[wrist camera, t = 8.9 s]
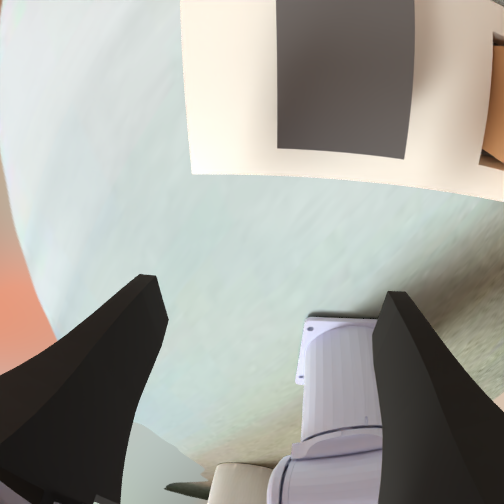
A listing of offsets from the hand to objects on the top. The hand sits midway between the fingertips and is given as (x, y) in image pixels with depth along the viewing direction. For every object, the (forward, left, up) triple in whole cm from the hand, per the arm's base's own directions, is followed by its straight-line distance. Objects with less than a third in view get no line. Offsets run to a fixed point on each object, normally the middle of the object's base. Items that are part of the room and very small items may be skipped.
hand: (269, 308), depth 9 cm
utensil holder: (-62, +4, -10) cm, 63 cm away
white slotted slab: (+7, -7, -9) cm, 14 cm away
